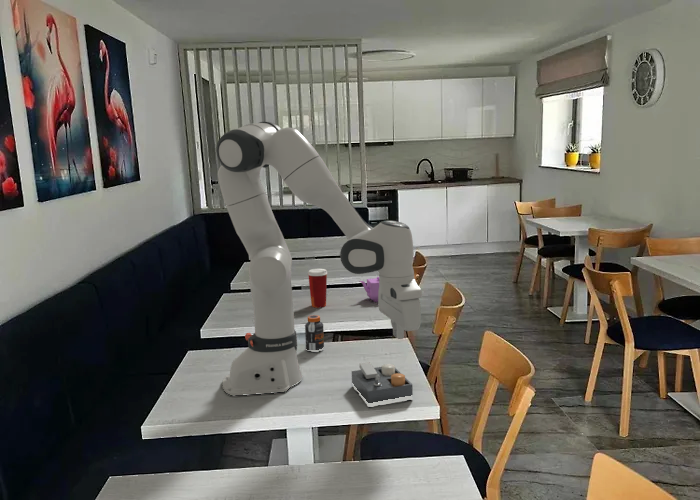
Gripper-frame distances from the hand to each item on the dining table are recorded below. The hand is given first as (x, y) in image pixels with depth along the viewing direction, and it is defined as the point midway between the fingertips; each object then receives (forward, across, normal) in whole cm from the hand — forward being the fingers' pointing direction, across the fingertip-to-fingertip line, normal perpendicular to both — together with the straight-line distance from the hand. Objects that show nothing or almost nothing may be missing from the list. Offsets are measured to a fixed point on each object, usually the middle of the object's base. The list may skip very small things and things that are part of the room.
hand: (398, 337), depth 148 cm
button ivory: (+14, -7, 0) cm, 16 cm away
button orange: (+15, 0, 0) cm, 15 cm away
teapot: (+17, -93, +28) cm, 99 cm away
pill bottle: (+16, -43, -12) cm, 48 cm away
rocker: (+11, -7, -6) cm, 14 cm away
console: (+16, -4, -4) cm, 17 cm away
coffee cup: (+16, -93, +2) cm, 95 cm away
